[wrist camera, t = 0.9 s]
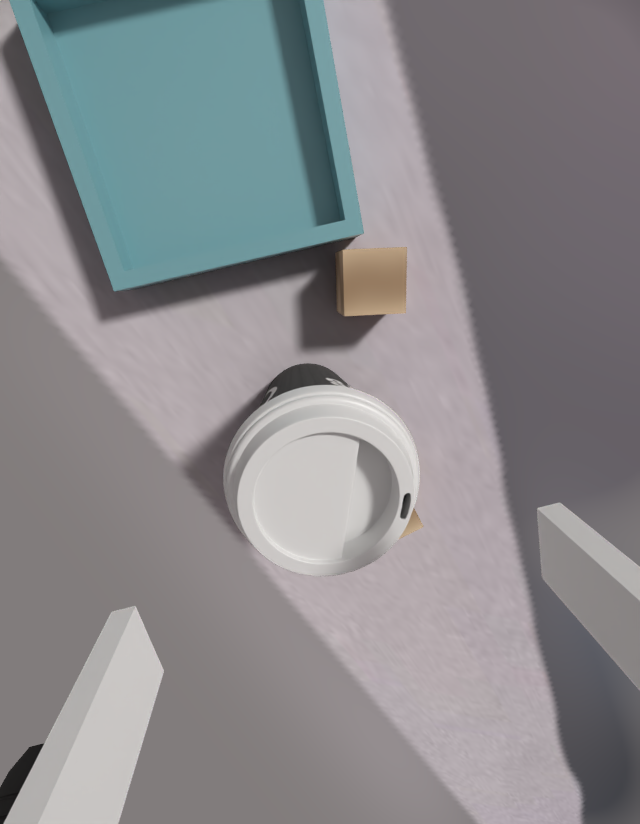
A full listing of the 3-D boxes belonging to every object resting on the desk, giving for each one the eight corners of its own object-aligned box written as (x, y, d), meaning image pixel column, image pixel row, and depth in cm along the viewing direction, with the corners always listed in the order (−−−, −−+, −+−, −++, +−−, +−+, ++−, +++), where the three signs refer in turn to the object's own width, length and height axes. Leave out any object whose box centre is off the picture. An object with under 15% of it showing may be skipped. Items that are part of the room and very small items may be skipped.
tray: (31, 6, 25) (-1, -29, 22) (303, -54, 25) (306, -97, 22) (129, 290, 30) (113, 291, 27) (356, 237, 30) (364, 233, 27)
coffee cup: (330, 480, 35) (364, 618, 21) (223, 430, 33) (180, 545, 19) (391, 379, 33) (474, 457, 19) (280, 319, 31) (281, 356, 17)
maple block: (335, 252, 30) (342, 249, 26) (391, 250, 31) (406, 247, 27) (336, 311, 32) (344, 316, 28) (390, 308, 32) (405, 313, 28)
